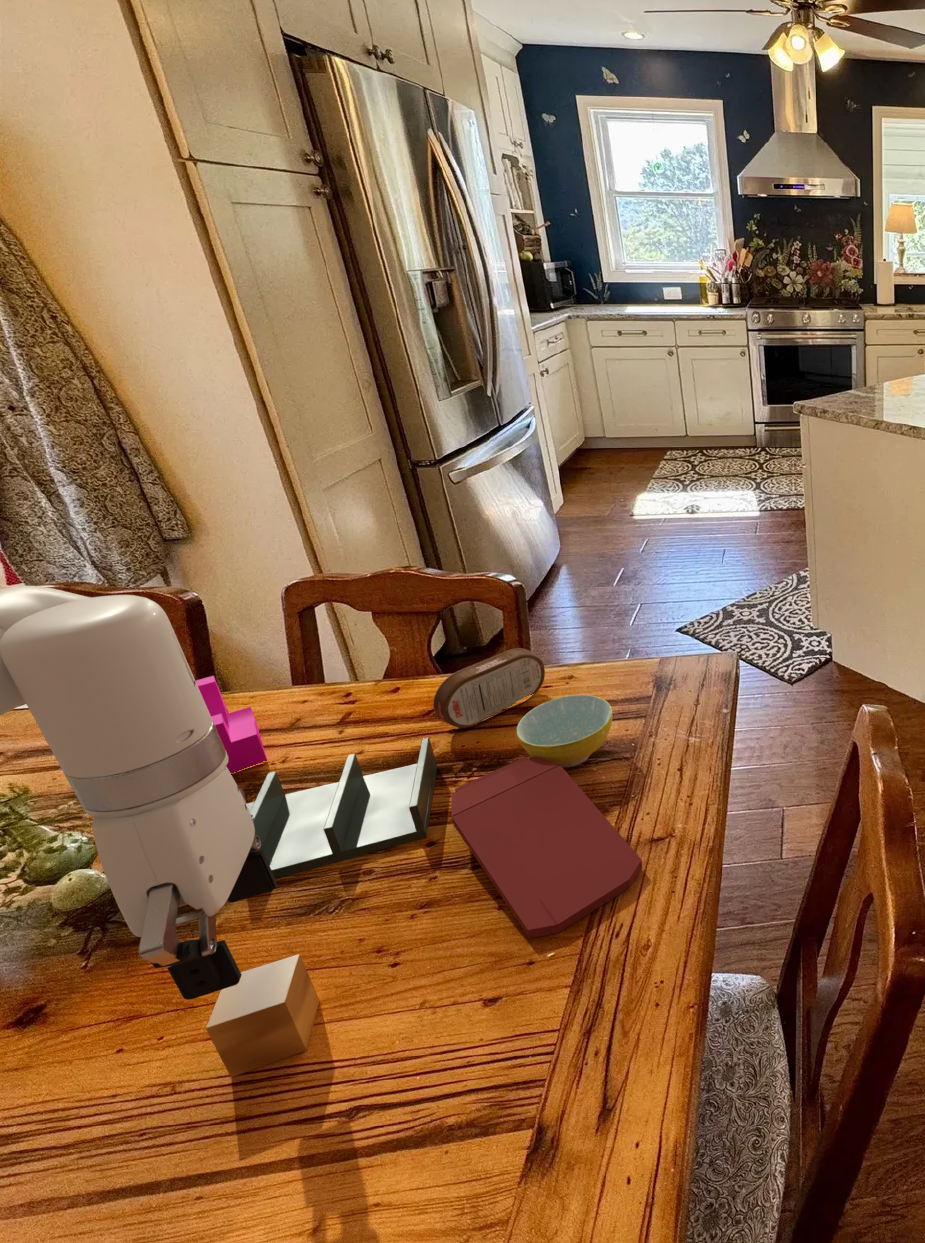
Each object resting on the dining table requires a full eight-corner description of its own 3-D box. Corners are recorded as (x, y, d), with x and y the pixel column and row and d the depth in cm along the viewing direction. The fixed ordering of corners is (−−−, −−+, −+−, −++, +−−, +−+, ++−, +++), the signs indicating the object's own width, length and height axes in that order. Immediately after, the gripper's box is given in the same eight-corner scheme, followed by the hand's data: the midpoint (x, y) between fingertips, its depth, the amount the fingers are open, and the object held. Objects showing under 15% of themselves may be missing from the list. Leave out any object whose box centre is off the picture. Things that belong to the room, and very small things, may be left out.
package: (230, 1078, 60) (205, 1028, 58) (249, 1024, 64) (225, 976, 62) (306, 1050, 62) (285, 1002, 60) (319, 1000, 66) (299, 953, 64)
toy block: (268, 762, 96) (249, 714, 93) (203, 784, 92) (182, 735, 89) (254, 713, 106) (237, 669, 103) (196, 731, 102) (176, 685, 99)
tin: (540, 685, 114) (531, 637, 111) (552, 691, 113) (543, 643, 110) (439, 733, 103) (425, 682, 99) (451, 741, 101) (437, 689, 98)
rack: (146, 914, 74) (128, 879, 73) (196, 824, 86) (181, 792, 84) (426, 837, 85) (417, 805, 83) (437, 766, 96) (429, 736, 94)
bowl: (587, 790, 92) (579, 750, 90) (505, 779, 94) (495, 739, 92) (634, 736, 103) (628, 699, 100) (559, 727, 105) (552, 690, 102)
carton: (650, 896, 82) (545, 771, 95) (648, 867, 80) (541, 742, 93) (539, 969, 73) (441, 820, 87) (534, 939, 71) (434, 790, 84)
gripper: (133, 715, 58) (211, 878, 64) (7, 868, 43) (124, 1058, 50) (254, 691, 61) (317, 849, 67) (174, 827, 47) (264, 1010, 53)
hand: (235, 938), depth 59 cm, fingers open, 9 cm apart
